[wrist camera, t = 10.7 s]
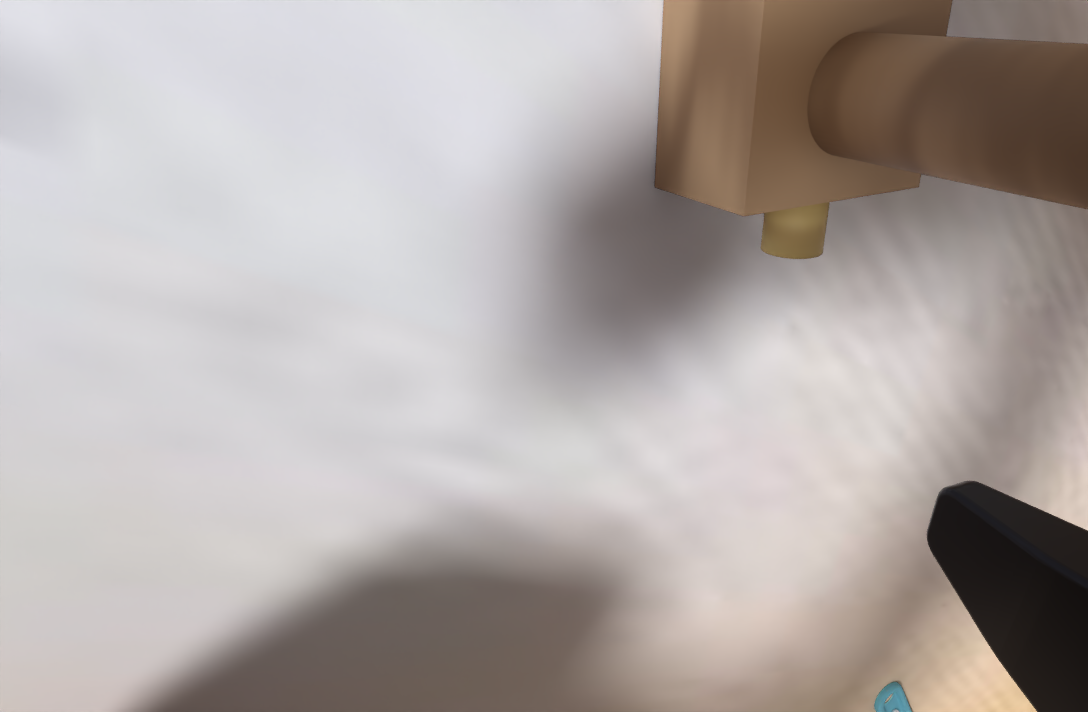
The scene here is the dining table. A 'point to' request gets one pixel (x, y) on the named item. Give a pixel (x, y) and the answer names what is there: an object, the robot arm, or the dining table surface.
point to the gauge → (858, 109)
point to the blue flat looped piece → (892, 699)
